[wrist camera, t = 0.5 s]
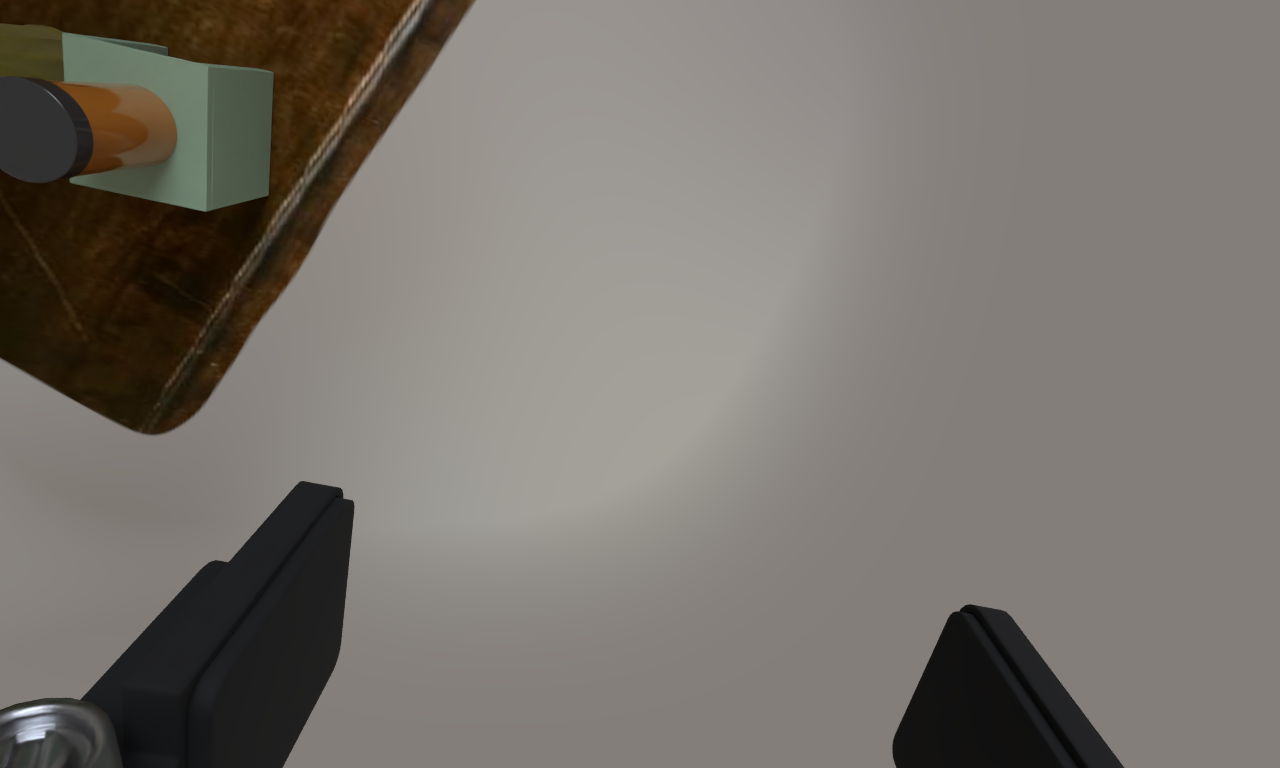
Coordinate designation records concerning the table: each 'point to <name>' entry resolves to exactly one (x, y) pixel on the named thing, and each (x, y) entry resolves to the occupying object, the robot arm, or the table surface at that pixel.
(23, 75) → the vase
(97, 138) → the bottle
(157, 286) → the table surface
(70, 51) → the pale green block
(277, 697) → the robot arm
